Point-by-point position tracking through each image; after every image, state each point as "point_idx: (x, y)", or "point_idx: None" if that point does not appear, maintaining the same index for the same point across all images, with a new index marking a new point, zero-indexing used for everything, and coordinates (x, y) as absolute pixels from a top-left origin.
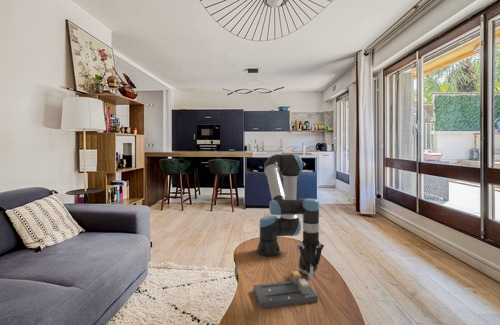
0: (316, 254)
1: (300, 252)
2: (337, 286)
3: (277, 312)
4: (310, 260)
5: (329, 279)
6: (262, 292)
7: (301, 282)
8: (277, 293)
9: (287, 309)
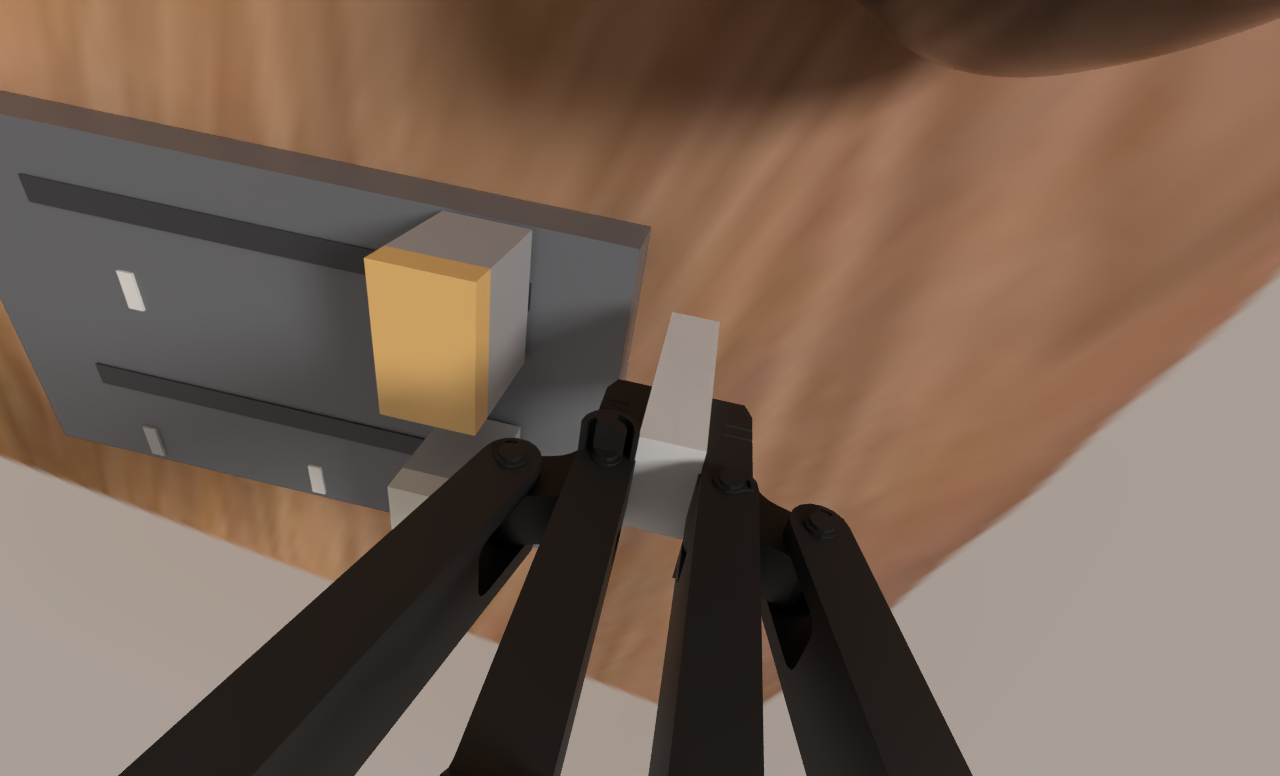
0: (848, 733)
1: (230, 693)
2: (1012, 426)
3: (241, 489)
4: (1044, 29)
5: (1116, 243)
6: (56, 298)
7: None
8: (216, 380)
9: None
